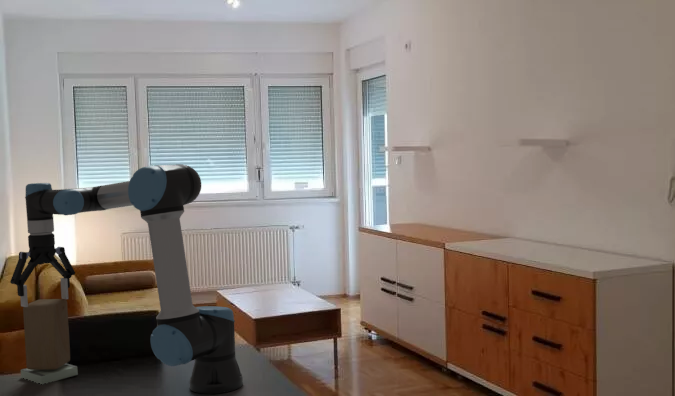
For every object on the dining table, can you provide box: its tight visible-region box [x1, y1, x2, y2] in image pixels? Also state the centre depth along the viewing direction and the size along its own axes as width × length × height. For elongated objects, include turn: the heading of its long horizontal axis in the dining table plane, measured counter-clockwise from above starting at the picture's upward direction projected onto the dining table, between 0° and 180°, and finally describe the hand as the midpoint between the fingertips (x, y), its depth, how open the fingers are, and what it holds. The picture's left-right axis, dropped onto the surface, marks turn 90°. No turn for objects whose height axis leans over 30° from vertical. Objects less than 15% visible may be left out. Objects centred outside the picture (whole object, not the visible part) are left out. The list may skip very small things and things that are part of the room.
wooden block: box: [22, 298, 71, 370], centre depth 235 cm, size 10×10×20 cm
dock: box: [20, 363, 79, 385], centre depth 236 cm, size 12×12×3 cm
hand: (45, 302), depth 234 cm, fingers closed on wooden block, 13 cm apart
